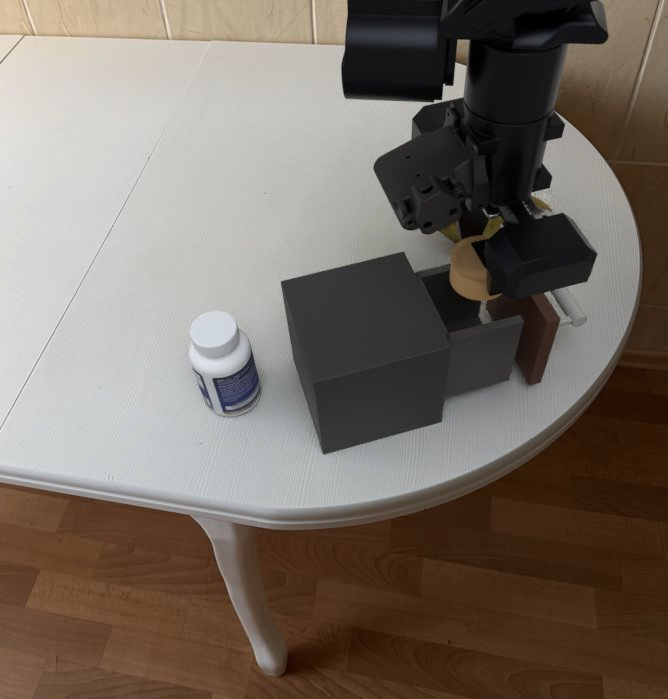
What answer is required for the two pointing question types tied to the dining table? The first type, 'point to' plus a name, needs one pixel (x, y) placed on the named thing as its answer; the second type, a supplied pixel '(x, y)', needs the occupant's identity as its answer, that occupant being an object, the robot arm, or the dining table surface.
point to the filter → (469, 271)
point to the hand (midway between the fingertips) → (481, 270)
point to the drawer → (495, 332)
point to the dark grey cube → (366, 351)
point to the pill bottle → (223, 364)
